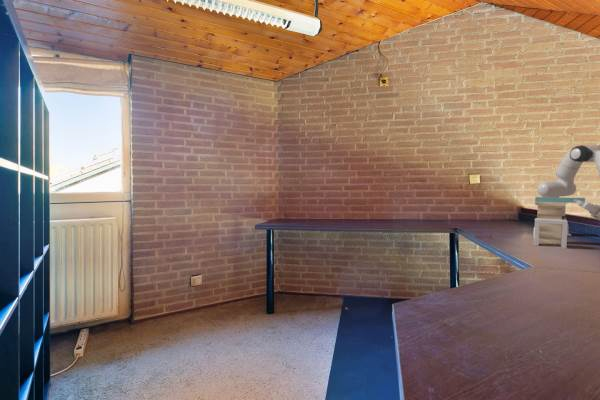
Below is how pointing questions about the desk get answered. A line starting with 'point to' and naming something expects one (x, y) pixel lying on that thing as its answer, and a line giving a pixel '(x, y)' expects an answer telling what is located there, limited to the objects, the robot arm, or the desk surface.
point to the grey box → (551, 221)
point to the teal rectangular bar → (557, 199)
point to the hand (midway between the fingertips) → (573, 199)
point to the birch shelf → (550, 231)
